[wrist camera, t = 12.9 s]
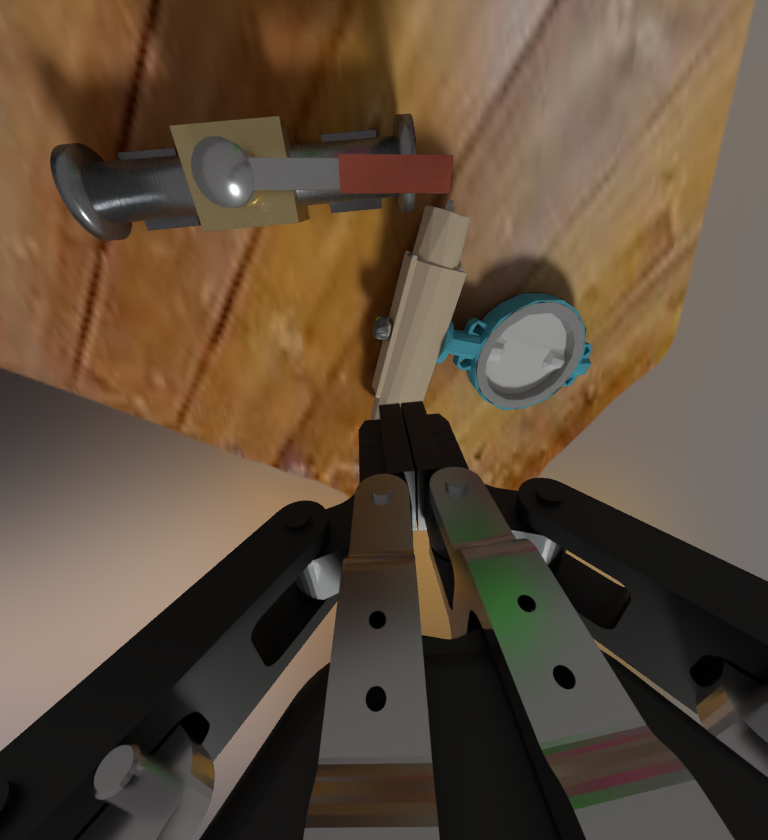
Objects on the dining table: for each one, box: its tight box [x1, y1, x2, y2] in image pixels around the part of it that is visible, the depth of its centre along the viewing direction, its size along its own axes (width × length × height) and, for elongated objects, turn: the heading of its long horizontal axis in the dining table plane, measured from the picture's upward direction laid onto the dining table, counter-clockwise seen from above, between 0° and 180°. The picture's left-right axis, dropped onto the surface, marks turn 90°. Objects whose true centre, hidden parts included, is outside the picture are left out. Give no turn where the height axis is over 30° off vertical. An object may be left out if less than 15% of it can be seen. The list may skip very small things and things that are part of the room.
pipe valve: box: [50, 114, 417, 241], centre depth 30 cm, size 28×7×10 cm, turn 94°
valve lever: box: [191, 136, 453, 208], centre depth 25 cm, size 18×4×2 cm, turn 90°
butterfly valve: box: [370, 200, 593, 420], centre depth 43 cm, size 27×7×30 cm
